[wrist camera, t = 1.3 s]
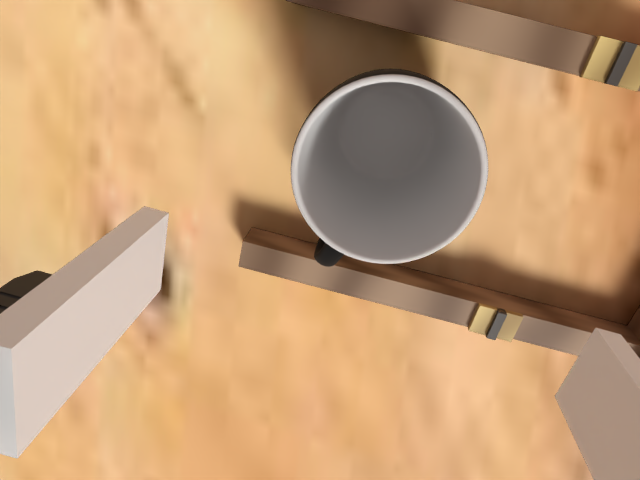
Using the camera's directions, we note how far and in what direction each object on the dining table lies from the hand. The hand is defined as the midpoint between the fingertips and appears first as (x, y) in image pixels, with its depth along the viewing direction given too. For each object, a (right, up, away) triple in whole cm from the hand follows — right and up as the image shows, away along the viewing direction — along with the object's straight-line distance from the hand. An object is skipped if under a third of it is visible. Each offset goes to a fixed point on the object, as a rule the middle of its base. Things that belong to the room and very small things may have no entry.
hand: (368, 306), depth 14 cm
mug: (+2, +8, +17) cm, 19 cm away
